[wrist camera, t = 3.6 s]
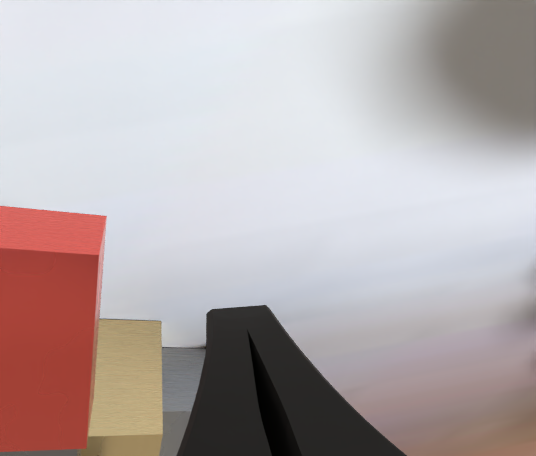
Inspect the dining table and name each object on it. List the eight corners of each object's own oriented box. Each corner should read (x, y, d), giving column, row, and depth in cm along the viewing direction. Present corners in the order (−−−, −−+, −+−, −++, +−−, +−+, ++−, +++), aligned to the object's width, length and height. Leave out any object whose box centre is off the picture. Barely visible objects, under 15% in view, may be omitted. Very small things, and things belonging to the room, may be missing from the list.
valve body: (231, 420, 22) (254, 562, 17) (-114, 429, 19) (-220, 616, 13) (257, 324, 20) (294, 457, 15) (-140, 310, 16) (-287, 486, 11)
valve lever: (92, 559, 15) (86, 612, 14) (0, 569, 14) (-15, 626, 13) (122, 217, 9) (117, 256, 8) (-29, 202, 8) (-59, 243, 7)
